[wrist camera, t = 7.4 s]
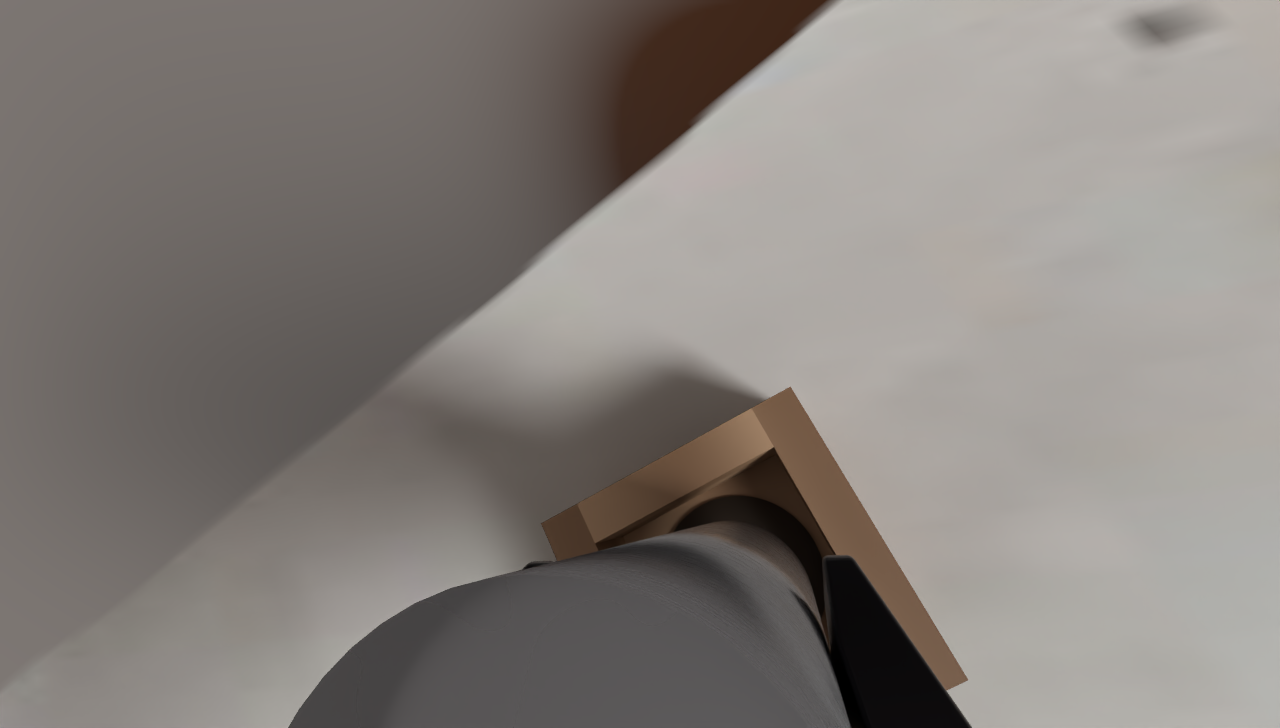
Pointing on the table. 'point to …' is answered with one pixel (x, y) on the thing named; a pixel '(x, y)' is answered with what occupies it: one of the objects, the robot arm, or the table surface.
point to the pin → (603, 645)
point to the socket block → (757, 510)
